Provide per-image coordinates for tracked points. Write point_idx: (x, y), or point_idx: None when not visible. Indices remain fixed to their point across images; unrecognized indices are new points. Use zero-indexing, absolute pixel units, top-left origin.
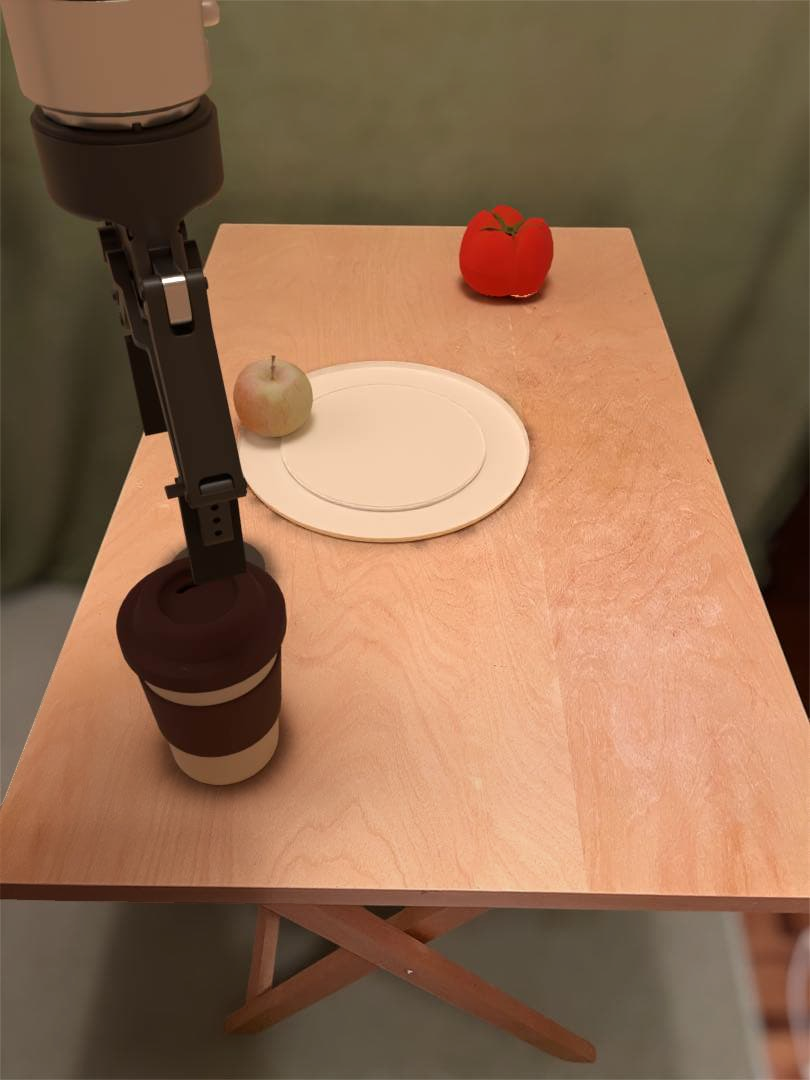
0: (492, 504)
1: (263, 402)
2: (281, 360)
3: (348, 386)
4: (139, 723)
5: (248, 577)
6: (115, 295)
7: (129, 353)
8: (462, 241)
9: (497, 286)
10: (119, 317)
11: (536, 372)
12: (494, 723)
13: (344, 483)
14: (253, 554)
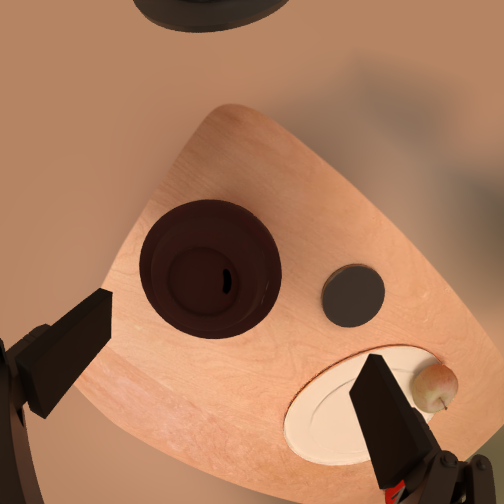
0: (289, 433)
1: (431, 387)
2: (443, 408)
3: None
4: (274, 198)
5: (197, 327)
6: (478, 469)
7: (410, 437)
8: None
9: (399, 486)
10: (451, 462)
11: (349, 477)
12: (162, 355)
13: None
14: (350, 323)
